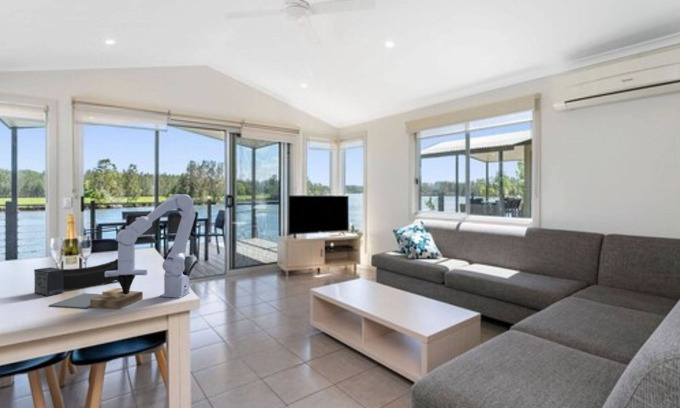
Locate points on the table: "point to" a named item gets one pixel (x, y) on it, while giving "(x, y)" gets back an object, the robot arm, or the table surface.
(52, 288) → the small box
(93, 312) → the table surface
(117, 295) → the birch tile
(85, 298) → the charcoal mat
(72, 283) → the magazine
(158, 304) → the table surface
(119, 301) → the block
